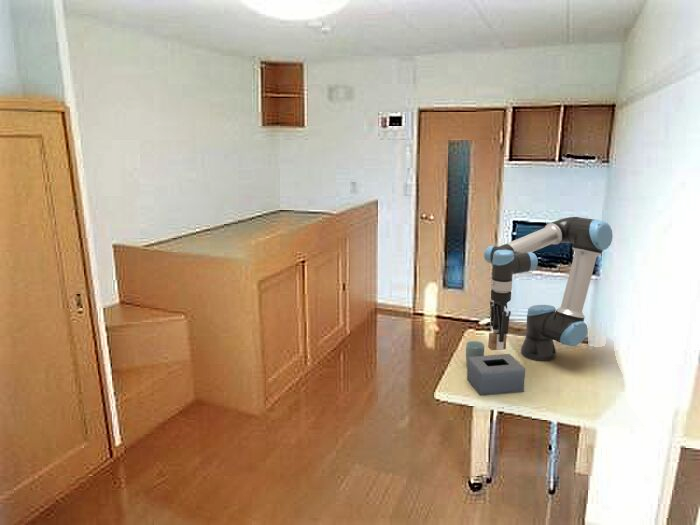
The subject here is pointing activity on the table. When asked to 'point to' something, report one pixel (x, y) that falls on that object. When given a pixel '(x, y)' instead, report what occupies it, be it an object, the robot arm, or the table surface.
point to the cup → (474, 349)
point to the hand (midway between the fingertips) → (497, 346)
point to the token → (495, 341)
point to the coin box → (495, 374)
